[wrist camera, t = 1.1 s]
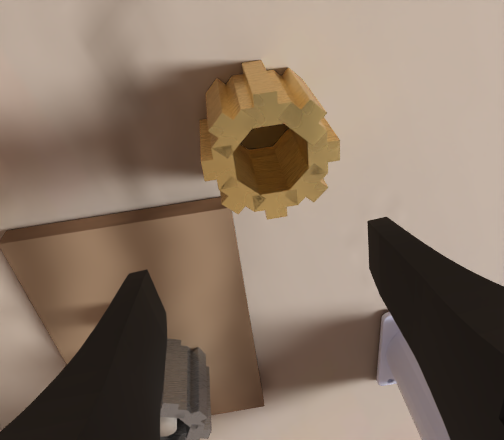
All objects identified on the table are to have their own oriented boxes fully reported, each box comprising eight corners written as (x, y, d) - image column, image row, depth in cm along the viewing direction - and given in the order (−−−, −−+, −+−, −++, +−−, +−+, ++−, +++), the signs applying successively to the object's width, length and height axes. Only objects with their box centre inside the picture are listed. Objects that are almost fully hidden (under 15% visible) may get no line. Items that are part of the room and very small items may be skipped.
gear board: (229, 195, 23) (237, 260, 19) (262, 391, 34) (273, 464, 29) (6, 230, 23) (-40, 304, 18) (108, 418, 33) (95, 495, 29)
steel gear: (177, 326, 27) (175, 390, 23) (224, 372, 30) (228, 435, 26) (104, 362, 28) (91, 428, 24) (157, 402, 31) (152, 467, 27)
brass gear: (312, 52, 20) (339, 81, 16) (315, 162, 23) (339, 207, 19) (190, 70, 19) (189, 103, 16) (210, 178, 23) (214, 227, 19)
